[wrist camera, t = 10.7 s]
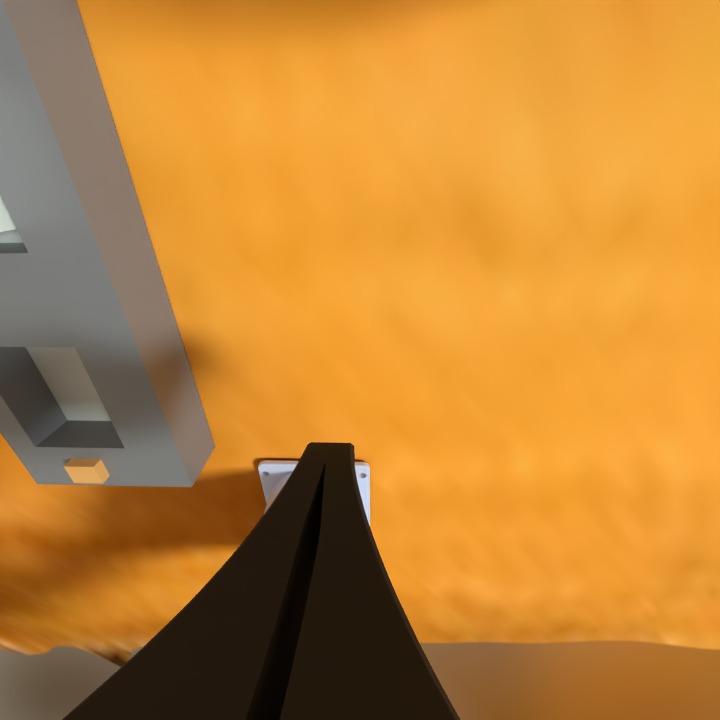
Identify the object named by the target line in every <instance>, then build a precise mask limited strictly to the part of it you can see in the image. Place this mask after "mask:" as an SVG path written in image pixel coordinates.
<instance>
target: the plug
mask: <svg viewBox="0 0 720 720" xmlns="http://www.w3.org/2000/svg"><path fill="white" fill-rule="evenodd" d="M15 229H16V227H15V225H14V223H13V221H12V219H11V217H10V215H9V213H8V211H7V209H6V207H5V204H4V202H3V200H2V198H1V196H0V232H3V231H9V230H15Z"/></svg>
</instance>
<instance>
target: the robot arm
mask: <svg viewBox="0 0 720 720" xmlns="http://www.w3.org/2000/svg"><path fill="white" fill-rule="evenodd" d="M258 471H259V475H260V479H261V484H262V488H263V492H264V496H265V501H266V508H265V511H264V514H263V516H262V518H261V519H260V520H259V522H258V523H257V525H256V526H255V527H254V529H253V530H252V531H251V533H250V534H249V535H248V536H247V538H246V539H245V540H244V541H243V543H242V544H241V545H240V546H239V548H238V549H237V550H236V551H235V552H234V553H233V555H232V556H231V557H230V558H229V559H228V561H227V562H226V563H225V564H224V565H223V566H222V568H221V569H220V570H219V571H218V572H217V573H216V574H215V575H214V576H213V577H212V578H211V580H210V581H209V582H208V583H207V584H206V585H205V586H204V587H203V588H202V589H201V591H200V592H199V593H198V594H197V595H196V596H195V597H194V598H193V599H192V600H191V601H190V602H189V603H188V604H187V605H186V606H185V607H184V608H183V609H182V610H181V611H180V612H179V613H178V614H177V615H176V616H175V617H174V618H173V619H172V620H171V621H170V622H169V623H168V624H167V625H166V626H165V627H164V628H163V629H162V630H161V631H160V632H159V633H158V634H157V635H156V636H155V637H153V638H152V639H151V640H150V641H149V642H148V643H147V644H146V645H145V646H144V647H143V648H142V649H141V650H140V651H139V652H138V653H137V654H136V655H135V656H134V657H132V658H131V659H130V660H129V661H128V662H127V663H126V664H125V665H124V666H122V667H121V668H120V669H119V670H118V671H117V672H116V673H114V674H113V675H112V676H111V677H110V678H109V679H108V680H107V681H106V682H104V683H103V684H102V685H101V686H100V687H99V688H97V689H96V690H95V691H94V692H93V693H92V694H91V695H90V696H88V697H87V698H86V699H85V700H84V701H83V702H82V703H81V704H79V705H78V706H77V707H76V708H75V709H74V710H72V711H71V712H70V713H69V714H68V715H67V716H66V717H65V718H64V719H63V720H460V718H459V717H458V715H457V713H456V711H455V709H454V708H453V706H452V704H451V703H450V700H449V699H448V697H447V695H446V693H445V692H444V689H443V688H442V686H441V684H440V682H439V680H438V678H437V677H436V675H435V673H434V671H433V669H432V667H431V665H430V663H429V661H428V659H427V657H426V655H425V654H424V651H423V649H422V648H421V646H420V644H419V642H418V640H417V637H416V635H415V633H414V631H413V629H412V627H411V625H410V623H409V621H408V619H407V616H406V614H405V612H404V610H403V608H402V606H401V604H400V602H399V600H398V597H397V595H396V593H395V590H394V588H393V586H392V583H391V581H390V579H389V576H388V574H387V572H386V569H385V567H384V564H383V562H382V559H381V557H380V554H379V551H378V549H377V546H376V543H375V540H374V538H373V535H372V532H371V529H370V466H369V464H368V463H366V462H355V456H354V446H353V445H352V444H351V443H314V442H311V443H309V444H308V445H307V447H306V449H305V451H304V453H303V455H302V456H301V458H300V460H299V461H278V460H263V461H261V462H260V463H259V465H258ZM265 471H266V472H265ZM361 473H365V474H361Z"/></svg>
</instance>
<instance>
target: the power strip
mask: <svg viewBox="0 0 720 720" xmlns="http://www.w3.org/2000/svg"><path fill="white" fill-rule="evenodd" d="M0 196H1V198H2V200H3V202H4V204H5V207H6V209H7V211H8V213H9V215H10V217H11V219H12V221H13V223H14V225H15V227H16V229H15V230H9V231H3V232H0V433H1V434H2V435H3V437H4V438H5V440H6V441H7V442H8V444H9V445H10V447H11V448H12V449H13V451H14V452H15V453H16V455H17V456H18V458H19V459H20V460H21V462H22V463H23V465H24V466H25V467H26V469H27V470H28V472H29V473H30V474H31V476H32V477H33V479H34V480H35V481H36V483H37V484H59V485H108V486H156V487H192V486H193V484H194V483H195V481H196V479H197V477H198V476H199V474H200V472H201V470H202V469H203V467H204V465H205V463H206V462H207V460H208V458H209V456H210V455H211V453H212V451H213V449H214V448H215V445H214V442H213V438H212V435H211V432H210V429H209V426H208V422H207V419H206V416H205V413H204V409H203V406H202V403H201V400H200V397H199V393H198V390H197V387H196V384H195V381H194V377H193V374H192V371H191V368H190V365H189V361H188V358H187V355H186V352H185V348H184V345H183V342H182V339H181V336H180V332H179V329H178V326H177V323H176V320H175V316H174V313H173V310H172V307H171V303H170V300H169V297H168V294H167V291H166V287H165V284H164V281H163V278H162V275H161V271H160V268H159V265H158V262H157V259H156V255H155V252H154V249H153V246H152V242H151V239H150V236H149V233H148V230H147V226H146V223H145V220H144V217H143V214H142V210H141V207H140V204H139V201H138V197H137V194H136V191H135V188H134V185H133V181H132V178H131V175H130V172H129V169H128V165H127V162H126V159H125V156H124V153H123V149H122V146H121V143H120V140H119V136H118V133H117V130H116V127H115V124H114V120H113V117H112V114H111V111H110V108H109V104H108V101H107V98H106V95H105V91H104V88H103V85H102V82H101V79H100V75H99V72H98V69H97V66H96V63H95V59H94V56H93V53H92V50H91V46H90V43H89V40H88V37H87V34H86V30H85V27H84V24H83V21H82V18H81V14H80V11H79V8H78V5H77V2H76V0H0Z"/></svg>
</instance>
